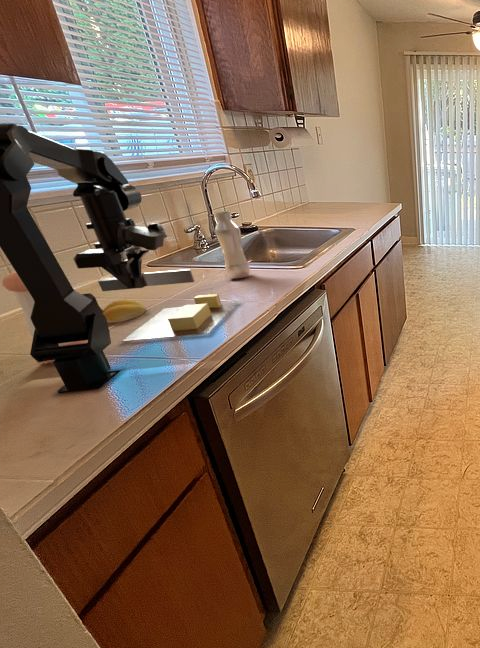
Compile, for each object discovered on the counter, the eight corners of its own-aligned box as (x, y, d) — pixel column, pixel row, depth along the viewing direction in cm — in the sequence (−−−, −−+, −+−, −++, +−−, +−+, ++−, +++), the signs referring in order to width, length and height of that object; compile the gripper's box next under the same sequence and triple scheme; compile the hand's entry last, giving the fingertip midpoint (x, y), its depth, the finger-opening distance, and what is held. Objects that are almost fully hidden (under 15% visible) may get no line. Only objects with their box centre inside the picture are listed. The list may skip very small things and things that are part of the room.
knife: (196, 280, 93) (192, 268, 91) (192, 283, 91) (187, 270, 89) (108, 288, 90) (103, 275, 88) (102, 291, 88) (96, 278, 86)
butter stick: (196, 328, 90) (192, 316, 89) (172, 331, 89) (167, 319, 88) (211, 314, 97) (207, 303, 96) (188, 316, 96) (184, 305, 95)
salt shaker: (42, 356, 81) (-7, 266, 73) (90, 343, 86) (49, 258, 78) (45, 369, 77) (-6, 275, 69) (95, 354, 82) (52, 265, 74)
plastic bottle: (235, 274, 128) (218, 210, 119) (256, 274, 127) (240, 210, 119) (223, 280, 122) (203, 214, 114) (244, 281, 122) (226, 214, 113)
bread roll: (104, 328, 93) (97, 313, 91) (104, 316, 99) (97, 301, 97) (148, 318, 98) (142, 303, 96) (146, 307, 104) (140, 293, 102)
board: (209, 336, 88) (208, 333, 88) (122, 344, 85) (121, 341, 85) (237, 305, 104) (236, 302, 104) (165, 311, 101) (164, 308, 101)
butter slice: (218, 307, 101) (215, 296, 100) (197, 309, 100) (193, 298, 99) (221, 304, 103) (218, 293, 102) (200, 306, 102) (196, 295, 101)
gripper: (123, 223, 76) (152, 298, 83) (172, 207, 93) (193, 270, 99) (56, 226, 74) (91, 303, 81) (117, 209, 91) (142, 274, 97)
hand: (134, 286), depth 89 cm, fingers closed on knife, 2 cm apart
